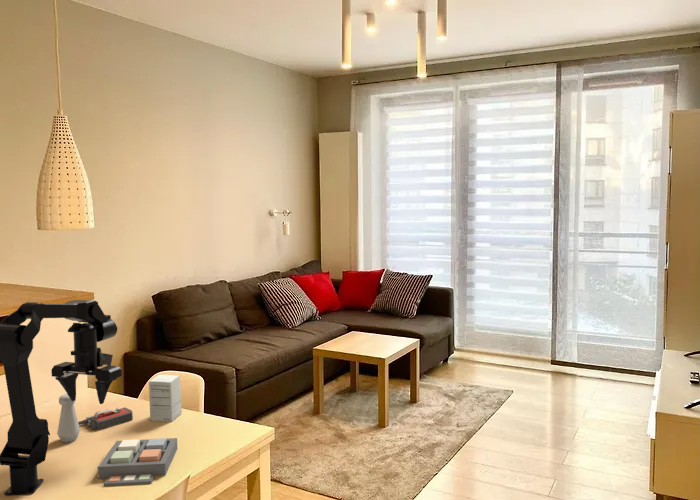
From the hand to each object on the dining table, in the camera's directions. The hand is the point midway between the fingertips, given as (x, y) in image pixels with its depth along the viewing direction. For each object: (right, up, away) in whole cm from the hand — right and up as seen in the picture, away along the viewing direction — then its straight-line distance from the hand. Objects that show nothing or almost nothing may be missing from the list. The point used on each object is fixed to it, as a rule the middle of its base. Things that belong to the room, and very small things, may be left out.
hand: (87, 402), depth 164 cm
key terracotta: (+21, -12, -12) cm, 27 cm away
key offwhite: (+13, -11, -5) cm, 18 cm away
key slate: (+20, -11, -5) cm, 24 cm away
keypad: (+17, -14, -10) cm, 25 cm away
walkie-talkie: (-5, -12, +19) cm, 23 cm away
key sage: (+14, -12, -12) cm, 22 cm away
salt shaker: (-8, -13, +7) cm, 17 cm away
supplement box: (+14, -11, +24) cm, 30 cm away
